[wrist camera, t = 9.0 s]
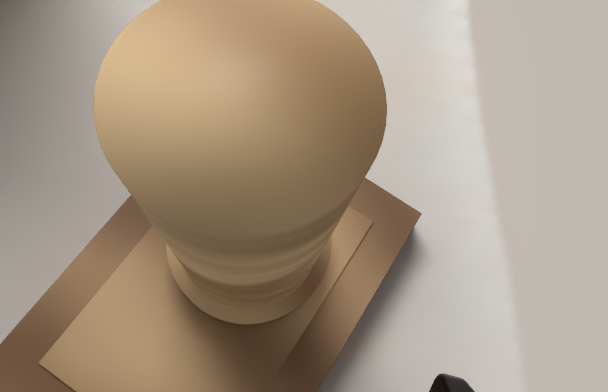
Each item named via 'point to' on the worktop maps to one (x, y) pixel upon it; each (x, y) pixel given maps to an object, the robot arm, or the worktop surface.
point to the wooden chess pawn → (241, 142)
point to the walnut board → (194, 315)
